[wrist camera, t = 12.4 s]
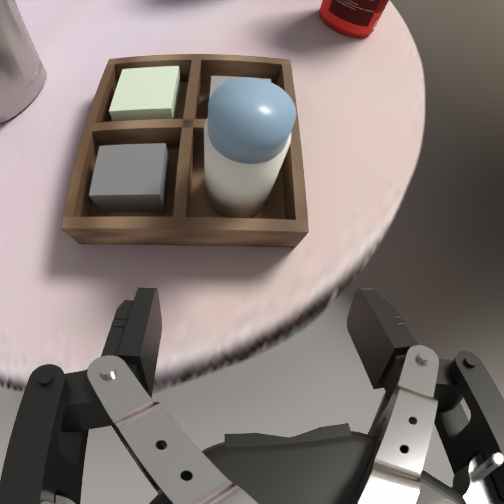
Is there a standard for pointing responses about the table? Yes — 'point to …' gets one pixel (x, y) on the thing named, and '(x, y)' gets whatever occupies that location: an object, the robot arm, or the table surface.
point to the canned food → (352, 15)
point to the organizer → (185, 164)
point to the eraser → (131, 178)
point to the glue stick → (245, 144)
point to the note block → (146, 94)
